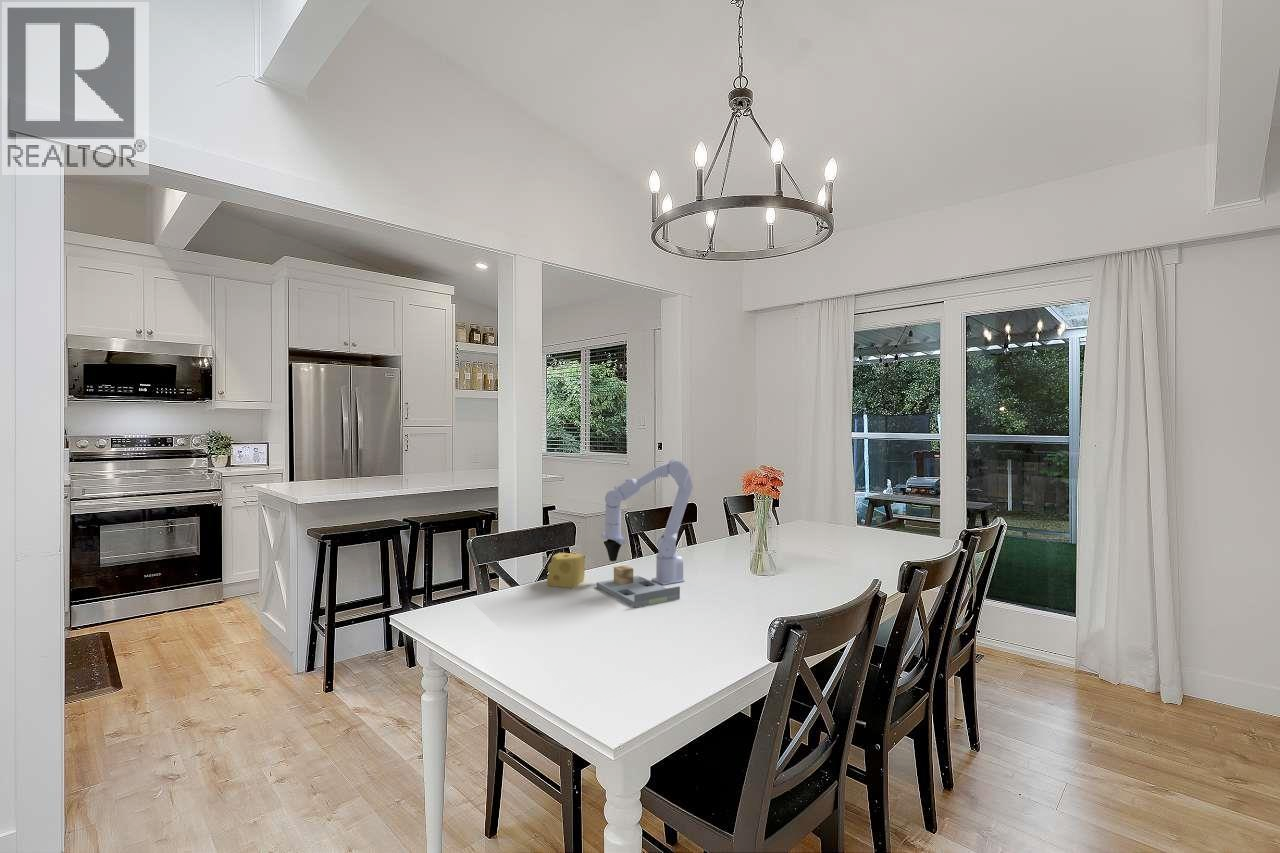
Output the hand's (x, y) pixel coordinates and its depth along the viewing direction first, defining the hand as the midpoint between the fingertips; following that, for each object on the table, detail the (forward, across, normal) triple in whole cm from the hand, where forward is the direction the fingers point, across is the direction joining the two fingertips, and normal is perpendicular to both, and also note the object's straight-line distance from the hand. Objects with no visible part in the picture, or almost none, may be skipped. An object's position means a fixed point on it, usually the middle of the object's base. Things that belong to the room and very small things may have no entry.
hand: (612, 560), depth 212 cm
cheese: (+8, -6, -15) cm, 18 cm away
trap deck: (+7, +16, 0) cm, 18 cm away
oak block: (+6, +8, 0) cm, 10 cm away
